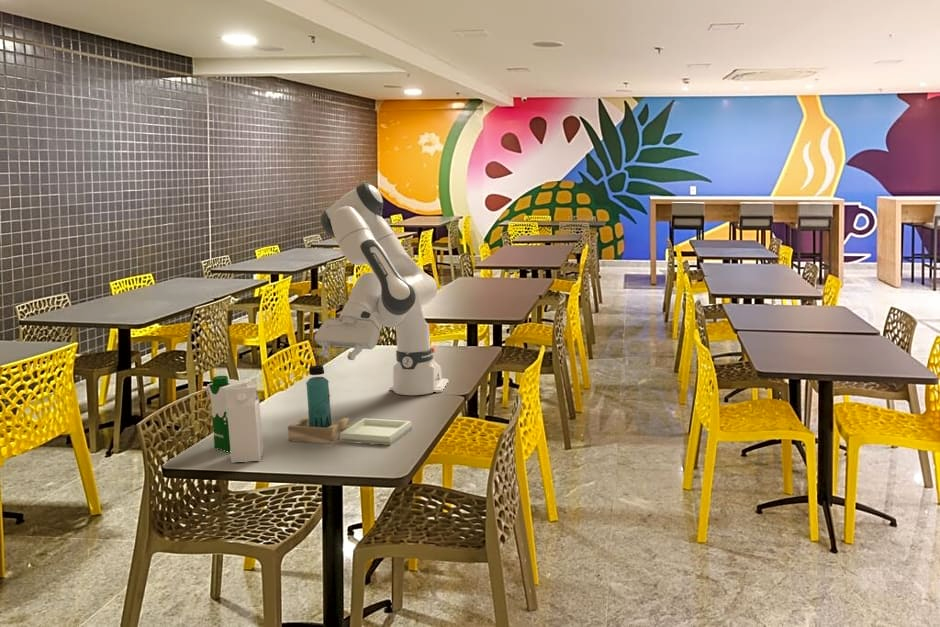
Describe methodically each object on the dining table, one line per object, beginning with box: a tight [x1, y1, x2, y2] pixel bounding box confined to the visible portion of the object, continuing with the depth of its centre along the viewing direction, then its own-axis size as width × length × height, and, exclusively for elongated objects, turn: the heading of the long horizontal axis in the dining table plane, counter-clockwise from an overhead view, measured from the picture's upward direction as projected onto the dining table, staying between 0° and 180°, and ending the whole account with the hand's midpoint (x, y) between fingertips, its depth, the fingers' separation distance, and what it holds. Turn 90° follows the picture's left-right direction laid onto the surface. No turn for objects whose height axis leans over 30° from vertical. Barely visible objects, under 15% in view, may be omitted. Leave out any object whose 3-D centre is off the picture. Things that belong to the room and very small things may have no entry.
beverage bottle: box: [305, 364, 333, 428], centre depth 246 cm, size 6×7×20 cm
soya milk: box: [206, 375, 248, 453], centre depth 238 cm, size 9×9×20 cm
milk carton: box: [227, 386, 264, 463], centre depth 228 cm, size 7×7×19 cm
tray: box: [339, 417, 413, 446], centre depth 245 cm, size 15×15×2 cm
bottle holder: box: [287, 415, 350, 444], centre depth 246 cm, size 12×13×4 cm
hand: (336, 357), depth 254 cm, fingers open, 8 cm apart
